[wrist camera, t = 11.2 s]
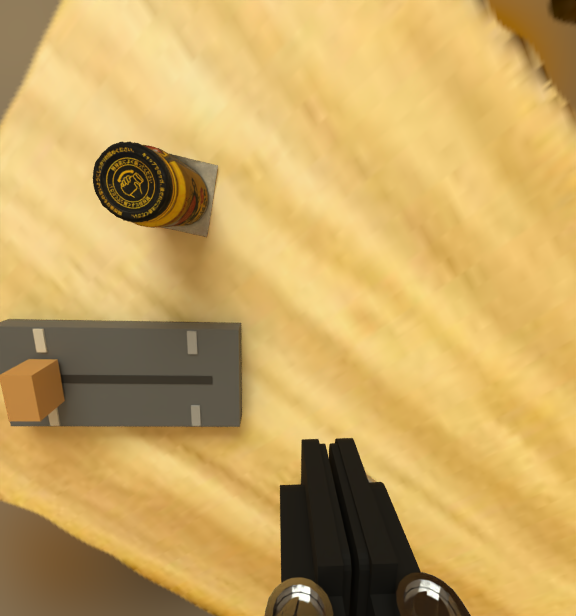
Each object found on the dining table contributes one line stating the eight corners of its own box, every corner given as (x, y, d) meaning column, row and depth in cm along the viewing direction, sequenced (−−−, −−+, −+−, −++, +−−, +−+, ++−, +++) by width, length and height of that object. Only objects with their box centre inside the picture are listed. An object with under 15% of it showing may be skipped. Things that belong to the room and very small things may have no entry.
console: (240, 323, 37) (238, 330, 34) (241, 414, 40) (239, 427, 37) (8, 319, 36) (-13, 326, 33) (27, 413, 39) (9, 427, 36)
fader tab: (57, 359, 34) (31, 375, 30) (64, 401, 35) (40, 421, 32) (28, 358, 34) (-2, 375, 30) (36, 400, 35) (9, 421, 32)
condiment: (207, 237, 34) (172, 243, 23) (127, 219, 34) (49, 217, 22) (218, 165, 33) (186, 133, 21) (134, 145, 32) (53, 100, 20)
